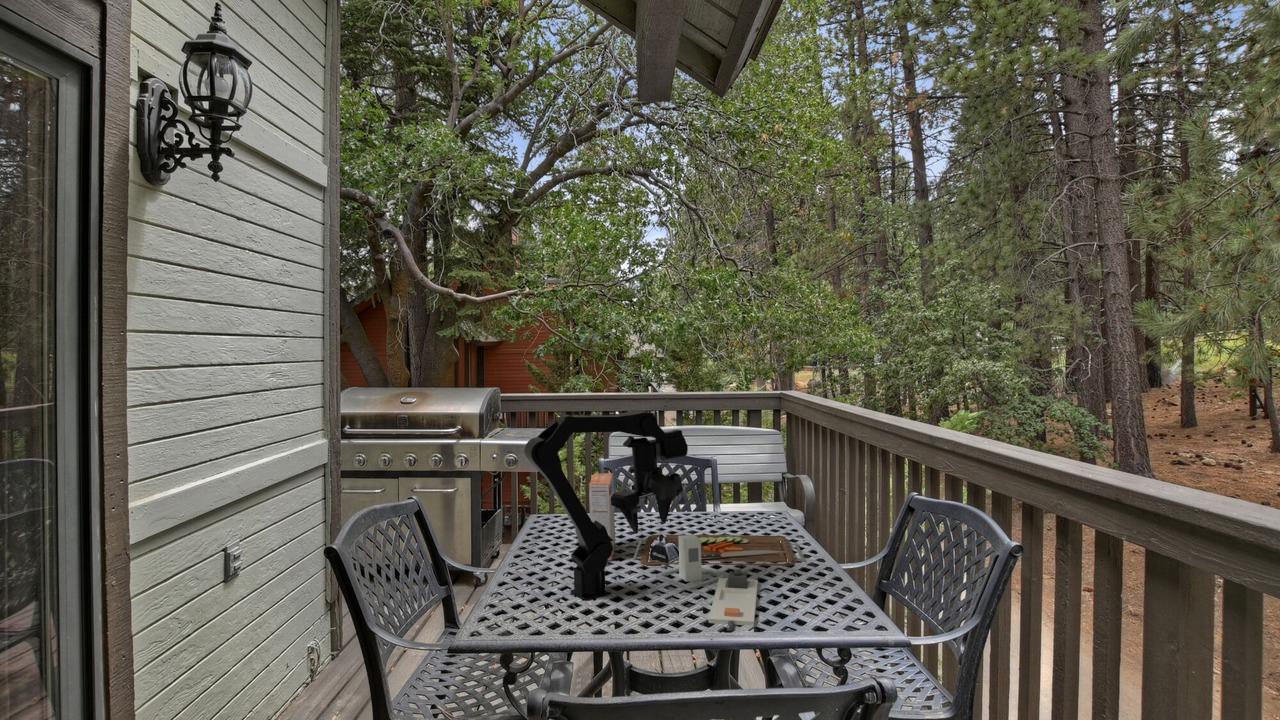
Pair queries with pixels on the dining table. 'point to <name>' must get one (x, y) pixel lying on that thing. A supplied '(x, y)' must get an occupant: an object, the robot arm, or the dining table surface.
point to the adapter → (690, 558)
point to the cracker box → (603, 503)
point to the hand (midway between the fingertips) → (650, 528)
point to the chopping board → (732, 549)
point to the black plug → (737, 579)
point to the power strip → (734, 604)
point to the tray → (718, 575)
